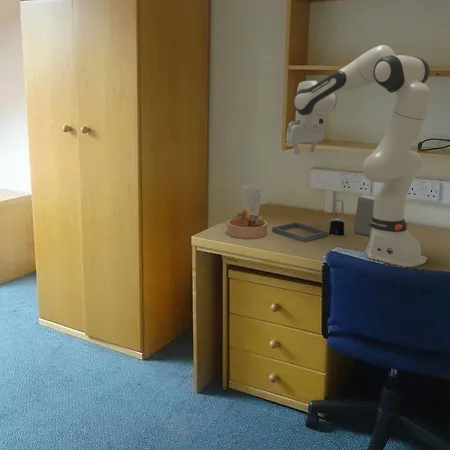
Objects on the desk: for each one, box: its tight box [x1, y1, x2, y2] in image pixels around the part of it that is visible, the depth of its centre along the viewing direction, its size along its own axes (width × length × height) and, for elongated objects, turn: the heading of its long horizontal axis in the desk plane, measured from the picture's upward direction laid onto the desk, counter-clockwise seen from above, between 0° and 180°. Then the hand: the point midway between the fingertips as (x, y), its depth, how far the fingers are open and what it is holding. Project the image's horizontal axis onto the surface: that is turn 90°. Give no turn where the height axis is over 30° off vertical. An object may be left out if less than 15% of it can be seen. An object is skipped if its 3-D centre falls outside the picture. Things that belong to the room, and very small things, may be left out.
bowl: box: [226, 217, 268, 240], centre depth 242 cm, size 16×16×4 cm
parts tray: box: [271, 221, 329, 243], centre depth 243 cm, size 18×14×2 cm
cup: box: [242, 184, 262, 216], centre depth 260 cm, size 8×8×16 cm
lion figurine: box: [237, 208, 265, 228], centre depth 242 cm, size 15×5×9 cm, turn 36°
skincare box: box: [353, 194, 375, 237], centre depth 244 cm, size 8×7×16 cm
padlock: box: [328, 198, 346, 236], centre depth 242 cm, size 7×4×15 cm, turn 78°
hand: (304, 153), depth 246 cm, fingers open, 8 cm apart
